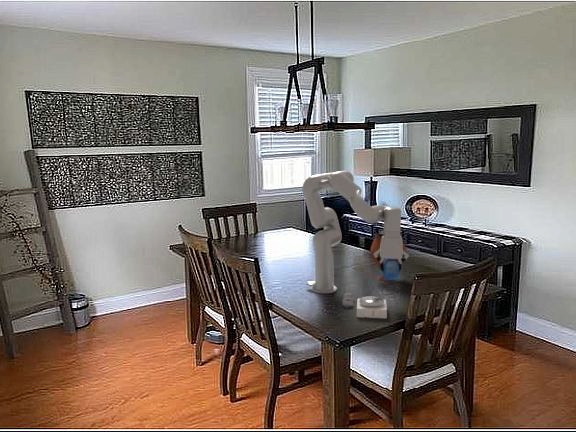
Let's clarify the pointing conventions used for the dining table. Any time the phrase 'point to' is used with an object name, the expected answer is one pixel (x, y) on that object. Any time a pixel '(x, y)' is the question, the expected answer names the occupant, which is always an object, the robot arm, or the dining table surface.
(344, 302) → the spacer
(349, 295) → the ring
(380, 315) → the scale
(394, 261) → the perfume bottle
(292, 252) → the dining table surface
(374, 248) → the goblet
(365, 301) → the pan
